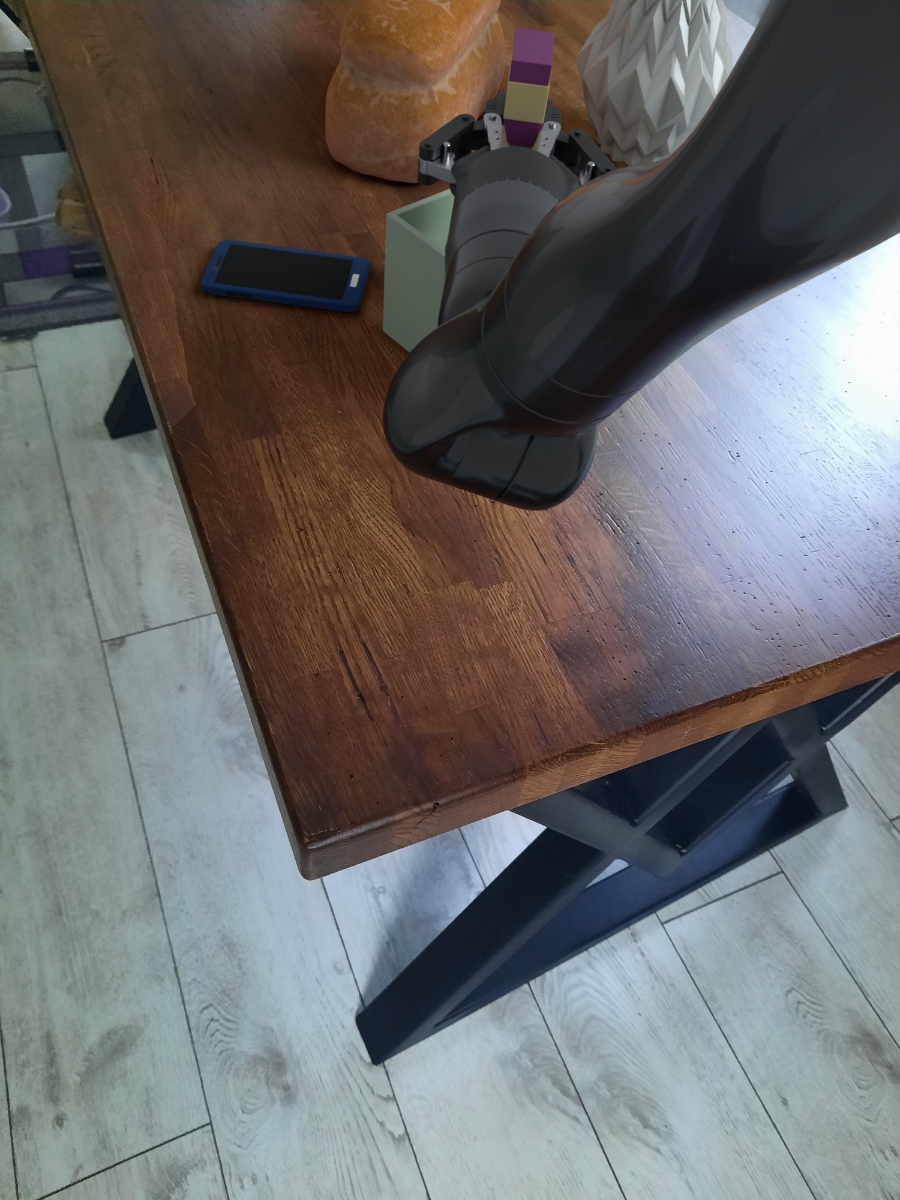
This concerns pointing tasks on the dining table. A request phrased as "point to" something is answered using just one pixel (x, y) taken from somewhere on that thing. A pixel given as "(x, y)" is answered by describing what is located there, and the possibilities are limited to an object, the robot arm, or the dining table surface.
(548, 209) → the robot arm
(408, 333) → the open storage box
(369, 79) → the bread
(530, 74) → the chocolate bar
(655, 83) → the vase
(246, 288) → the cell phone
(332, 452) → the dining table surface
